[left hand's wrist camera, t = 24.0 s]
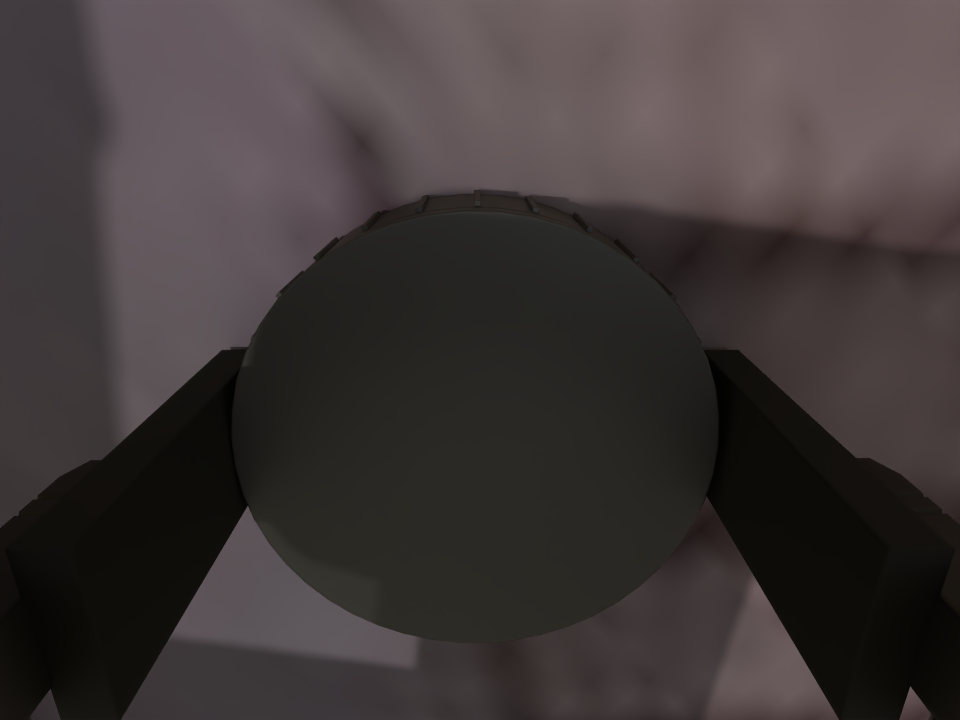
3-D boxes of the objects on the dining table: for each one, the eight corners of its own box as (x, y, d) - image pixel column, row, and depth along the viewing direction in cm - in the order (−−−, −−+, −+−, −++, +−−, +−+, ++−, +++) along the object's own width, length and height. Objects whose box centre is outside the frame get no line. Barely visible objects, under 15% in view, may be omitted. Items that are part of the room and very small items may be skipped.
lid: (703, 178, 12) (751, 191, 10) (672, 566, 16) (703, 637, 14) (227, 200, 12) (176, 219, 10) (298, 582, 16) (271, 654, 14)
